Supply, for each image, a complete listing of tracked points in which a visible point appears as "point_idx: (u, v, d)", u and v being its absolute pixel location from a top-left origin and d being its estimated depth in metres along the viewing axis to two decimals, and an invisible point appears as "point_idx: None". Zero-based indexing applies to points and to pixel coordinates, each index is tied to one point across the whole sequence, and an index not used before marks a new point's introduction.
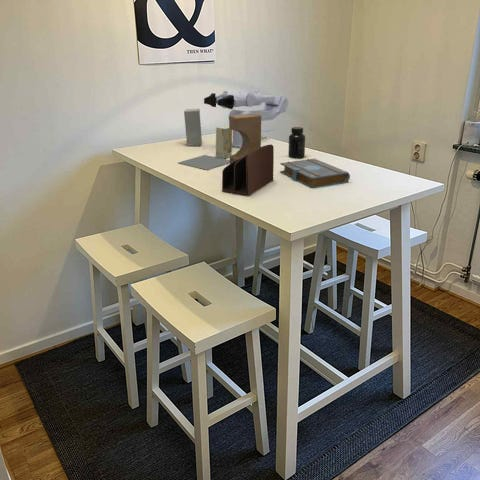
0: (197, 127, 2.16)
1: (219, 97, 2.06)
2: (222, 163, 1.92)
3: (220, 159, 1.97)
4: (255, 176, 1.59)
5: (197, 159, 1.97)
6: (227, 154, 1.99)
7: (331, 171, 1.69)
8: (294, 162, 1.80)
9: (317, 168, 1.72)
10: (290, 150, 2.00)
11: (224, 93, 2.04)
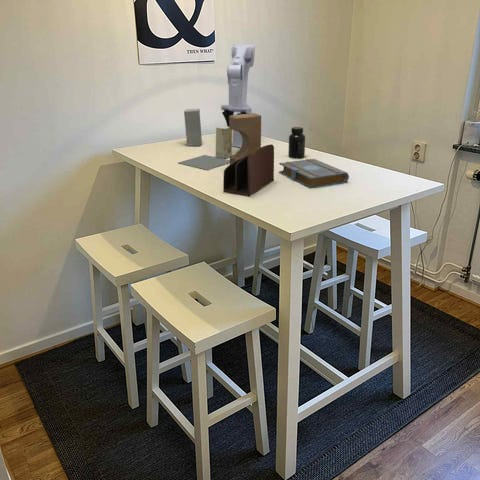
0: (197, 127, 2.16)
1: (228, 109, 2.00)
2: (222, 163, 1.92)
3: (220, 159, 1.97)
4: (256, 176, 1.58)
5: (197, 159, 1.97)
6: (227, 154, 1.99)
7: (330, 171, 1.69)
8: (293, 162, 1.80)
9: (316, 168, 1.72)
10: (290, 150, 2.00)
11: None
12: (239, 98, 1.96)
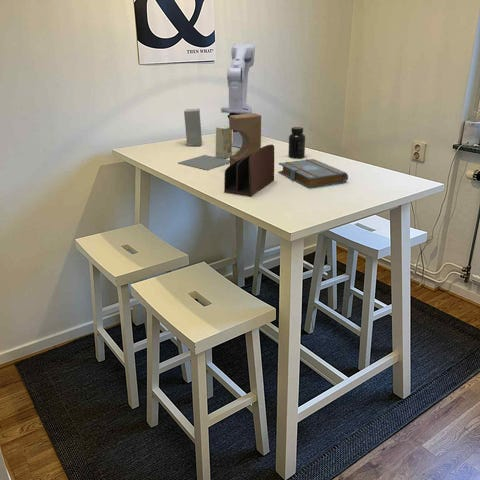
0: (197, 127, 2.16)
1: (229, 112, 2.01)
2: (222, 163, 1.92)
3: (220, 159, 1.97)
4: (257, 176, 1.58)
5: (197, 159, 1.97)
6: (227, 154, 1.99)
7: (329, 171, 1.69)
8: (292, 162, 1.80)
9: (315, 168, 1.72)
10: (290, 150, 2.00)
11: (230, 112, 1.98)
12: (239, 101, 1.96)
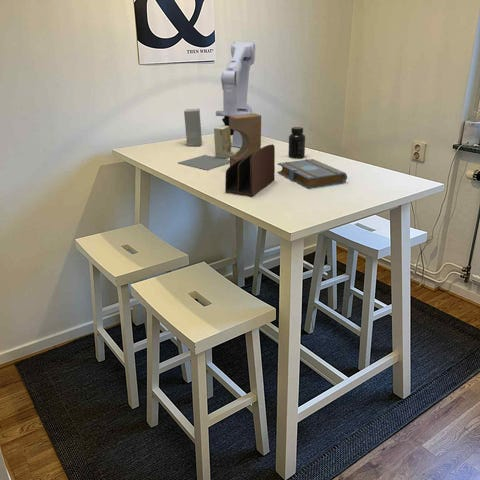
0: (197, 127, 2.16)
1: (223, 115, 1.99)
2: (222, 163, 1.92)
3: (220, 159, 1.97)
4: (258, 176, 1.58)
5: (197, 159, 1.97)
6: (226, 153, 1.99)
7: (328, 171, 1.69)
8: (292, 162, 1.80)
9: (314, 168, 1.72)
10: (290, 150, 2.00)
11: None
12: (234, 104, 1.94)
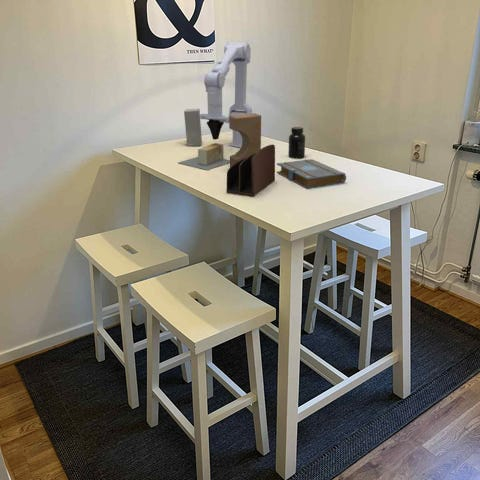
0: (197, 127, 2.16)
1: (208, 118, 1.92)
2: (222, 163, 1.92)
3: None
4: (259, 176, 1.58)
5: (197, 159, 1.97)
6: (221, 153, 1.96)
7: (327, 172, 1.69)
8: (291, 162, 1.80)
9: (313, 169, 1.72)
10: (290, 150, 2.00)
11: (209, 118, 1.89)
12: (218, 107, 1.87)
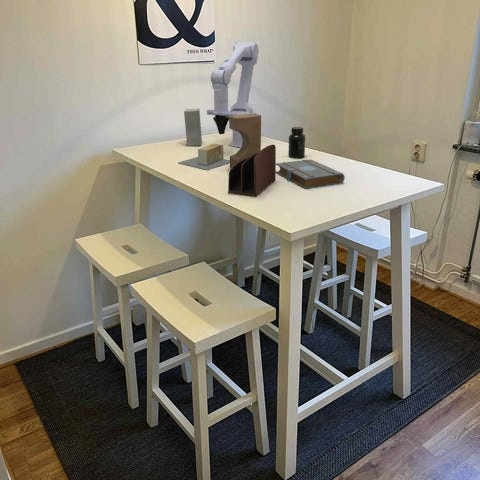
0: (197, 127, 2.16)
1: (214, 114, 2.00)
2: (222, 163, 1.92)
3: None
4: (261, 176, 1.58)
5: (197, 159, 1.97)
6: (221, 153, 1.96)
7: (326, 172, 1.68)
8: (290, 163, 1.80)
9: (312, 169, 1.71)
10: (290, 150, 2.00)
11: None
12: (224, 103, 1.95)
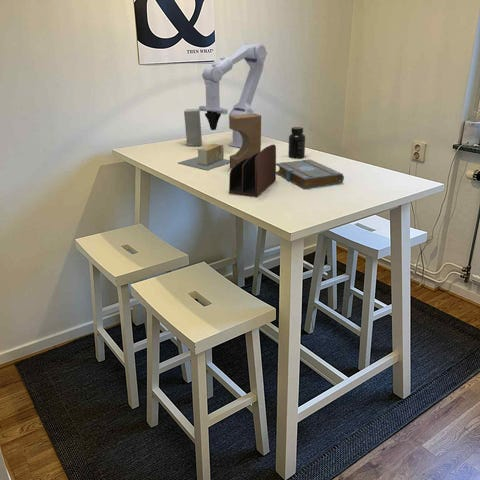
0: (197, 127, 2.16)
1: (206, 110, 2.04)
2: (222, 163, 1.92)
3: None
4: (262, 177, 1.58)
5: (197, 159, 1.97)
6: (221, 153, 1.96)
7: (325, 172, 1.68)
8: (289, 163, 1.80)
9: (311, 169, 1.71)
10: (290, 150, 2.00)
11: None
12: (216, 99, 2.00)
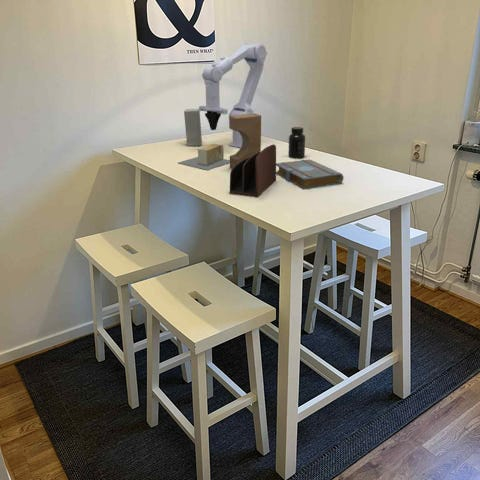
0: (197, 127, 2.16)
1: (206, 110, 2.04)
2: (222, 163, 1.92)
3: None
4: (262, 177, 1.58)
5: (197, 159, 1.97)
6: (221, 153, 1.96)
7: (324, 172, 1.68)
8: (289, 163, 1.79)
9: (311, 169, 1.71)
10: (290, 150, 2.00)
11: None
12: (216, 99, 2.00)
